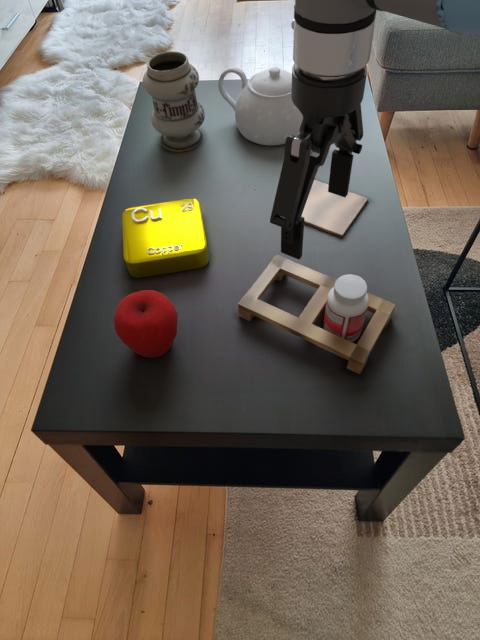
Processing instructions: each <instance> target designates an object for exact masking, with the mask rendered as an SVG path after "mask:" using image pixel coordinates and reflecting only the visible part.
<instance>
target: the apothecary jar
mask: <svg viewBox="0 0 480 640" xmlns="http://www.w3.org/2000/svg"><path fill="white" fill-rule="evenodd" d="M189 61H190V60H189V58H188V56H187V55H186V54H185V53H183V52H181V51H172V50H170V51H161V52H159V53H156V54H155V55H152V56H151V57H150V58H149V59H148V61H147V63H146V68H147V69H146V71H145V72H144V74H143V77H142V86H143V89H144V90H145V92H146V93H147V94H148V95H149V96H150V97H151V100H152V105H153V110H152V112H151V114H150V122H151V125H152V127H153V128H154V129H155V131H156V132H158V133H159V134H161V136H160V139H161V142H160V144H161V146H162V147H163V148H164V149H165V150H168V151H171V152H174V153H175V152H176V153H181V152H187V151H190V150H192V149H195V148H197V147H198V146H199V145H200V144H201V143H202V142H203V138H204V137H203V133H202V131H201V130H200V129H199V128H201V126H202V125H203V123H204V122H205V117H206V115H205V114H206V113H205V110H204V109H205V108H204V107H203V105H201V104H200V102H199V101H198V100H197V94H196V88H197V86H198V84H199V82H200V76H199V72H198V70H197V69H196V68H195V66H193V65H192V64H191V63H190V62H189Z"/></svg>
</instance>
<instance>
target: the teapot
mask: <svg viewBox="0 0 480 640" xmlns="http://www.w3.org/2000/svg"><path fill="white" fill-rule="evenodd" d="M231 73H233V74H236V75H237V76H238V77H239V78H240V79H241V90H240V92H239V93H238V94H239V95H238V96H237V99H236V100H234V99H233V98H232V97H231V96H230V95H229V93H228V92H227V91H226V89H225V85H224V80H225V78H226V76H227V75H228V74H231ZM218 78H219V79H218V80H217V81H218V82H217V84H218V85H217V86H218V91H219V94H220V95H221V97H222V98H223V99H224V100H225V102H227V103H228V105H230V107H231V108H232V109H233V111H234V118H235V123H236V127H237V129H238V131H239V132H240V134H241V135H242V136H243V137H244V138H245V139H247V140H248V141H250V142H251V143H254V144H257V145H263V146H282V145H285V142H286V138H287V136H288V135H293V136H298V135H299V134H300V132H299V129H300V126H301V123H302V119H303V116H302V114H301V112H300V111H299V110H298V108H297V107H296V106H295V105H294V103H293V101H292V97H291V90H292V72H289V71H288V70H285V69H282V68H279V67H278V66H272V67H270V68H267V69H264V70H262V71H260V72H257V73H255V74H253V75H251V77H250V78H249V79H248V77H247V75H246V73H245V72H244V70H243V69H241V68H239V67H237V66H229V67H227V68H225V69H224V70H223V71H222V72H221V74H220V75H219V77H218Z"/></svg>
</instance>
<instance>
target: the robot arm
mask: <svg viewBox="0 0 480 640" xmlns="http://www.w3.org/2000/svg"><path fill="white" fill-rule="evenodd" d="M293 9H294V10H293V12H294V13H293V20H292V21H291V25H290V26H291V27H290V28H291V29H292V30H293V39H292V42H293V44H292V45H293V46H292V60H293V62H294V63H293V64H292V67H291V74H292V90H291V97H292V101H293V103H294V105H295V106H296V107H297V108H298V110H299V111H300V112H301V114H302V116H303V119H302V123H301V126H300V129H299V132H300V134H299V135H298V136H293V135H288V136H287V138H286V142H285V144H284V156H283V161H282V164H281V165H282V166H281V170H280V175H279V178H278V183H277V188H276V191H275V192H276V193H275V196H274V201H273V203H272V209H271V212H270V213H271V214H270V218H269V223H270V224H272V225H275V226H277V227H280V253H281V254H284V255H286V256H289V257H291V258H293V259H296V260H301V258H302V257H303V247H304V232H305V223H304V217H301V216H302V213H303V210H304V207H305V204H306V202H307V199H308V196H309V193H310V190H311V187H312V184H313V182H314V180H316V176H317V173H318V170H319V168H320V167H323V166H324V165H325V163H326V160H327V158H328V154H329V151H330V148H331V146H333V145H334V146H335V148H336V149H334V150H333V151H332V152H331V160H330V168H329V169H330V170H329V178H328V184H329V186H328V192H330V193H333V194H336V195H339V196H342V197H346V196H347V195H348V191H349V188H350V181H351V174H352V169H353V161H354V153H355V154H357V155H360V154H361V152H362V149H363V144H360V143H358V142H357V141H359V142H360V141H362V139H363V137H364V124H363V115H362V114H363V113H362V102H363V100H364V95H365V88H366V81H367V75H368V63H369V62H370V59H371V53H372V47H373V39H374V31H375V27H376V26H375V25H376V18H377V17H376V16H377V11H379V12H386V13H388V14H393V15H395V16H396V15H397V16H399V17H403V18H405V19H406V18H407V19H411V20H414V21H417V22H420V23H425V24H427V25H431V26H435V27H438V28H442V29H444V30H446V31H447V32H449V33H452V34H453V33H455V34H458V35H463V34H467V35H472V36H479V37H480V0H294V5H293ZM312 153H315V154H318V155H317V156H314V155H312Z"/></svg>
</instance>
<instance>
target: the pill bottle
mask: <svg viewBox="0 0 480 640" xmlns="http://www.w3.org/2000/svg"><path fill="white" fill-rule="evenodd" d="M367 291H368V285H367V282H366V281H365V280H364V279H363V278H362V277H361V276H359V275H356V274H353V273H352V274H351V273H350V274H349V273H348V274H343V275H341V276H339V277H338V278H336V282H335V285H334V287H333V288H332V289H331V290H330V291H329V293H328V297H327V303H326V306H325V310H324V311H325V312H324V319H323V329H324V330H326V331H328V332H330V333H333V334H335V335H337V336H339V337H341V338H343V339H346V340H348V341H350V342H352V343H354V342H355V341H356V340H357V339H358V338H360V337H361V333H362V331H363V327H364V322H365V319H366V316H367V313H368V310H367V308H368V304H369V298H368V295H367V293H368V292H367ZM366 292H367V293H366Z"/></svg>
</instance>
